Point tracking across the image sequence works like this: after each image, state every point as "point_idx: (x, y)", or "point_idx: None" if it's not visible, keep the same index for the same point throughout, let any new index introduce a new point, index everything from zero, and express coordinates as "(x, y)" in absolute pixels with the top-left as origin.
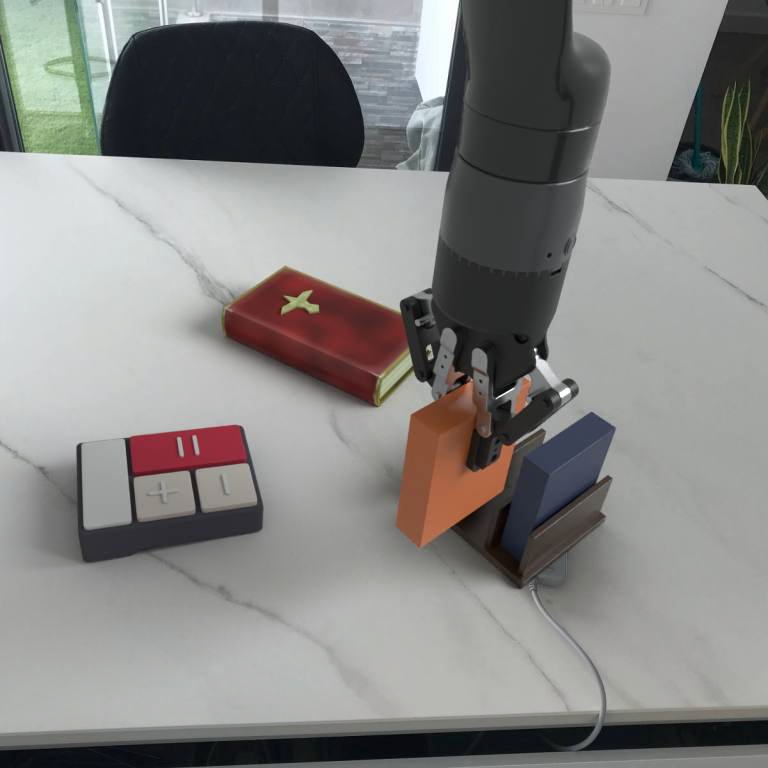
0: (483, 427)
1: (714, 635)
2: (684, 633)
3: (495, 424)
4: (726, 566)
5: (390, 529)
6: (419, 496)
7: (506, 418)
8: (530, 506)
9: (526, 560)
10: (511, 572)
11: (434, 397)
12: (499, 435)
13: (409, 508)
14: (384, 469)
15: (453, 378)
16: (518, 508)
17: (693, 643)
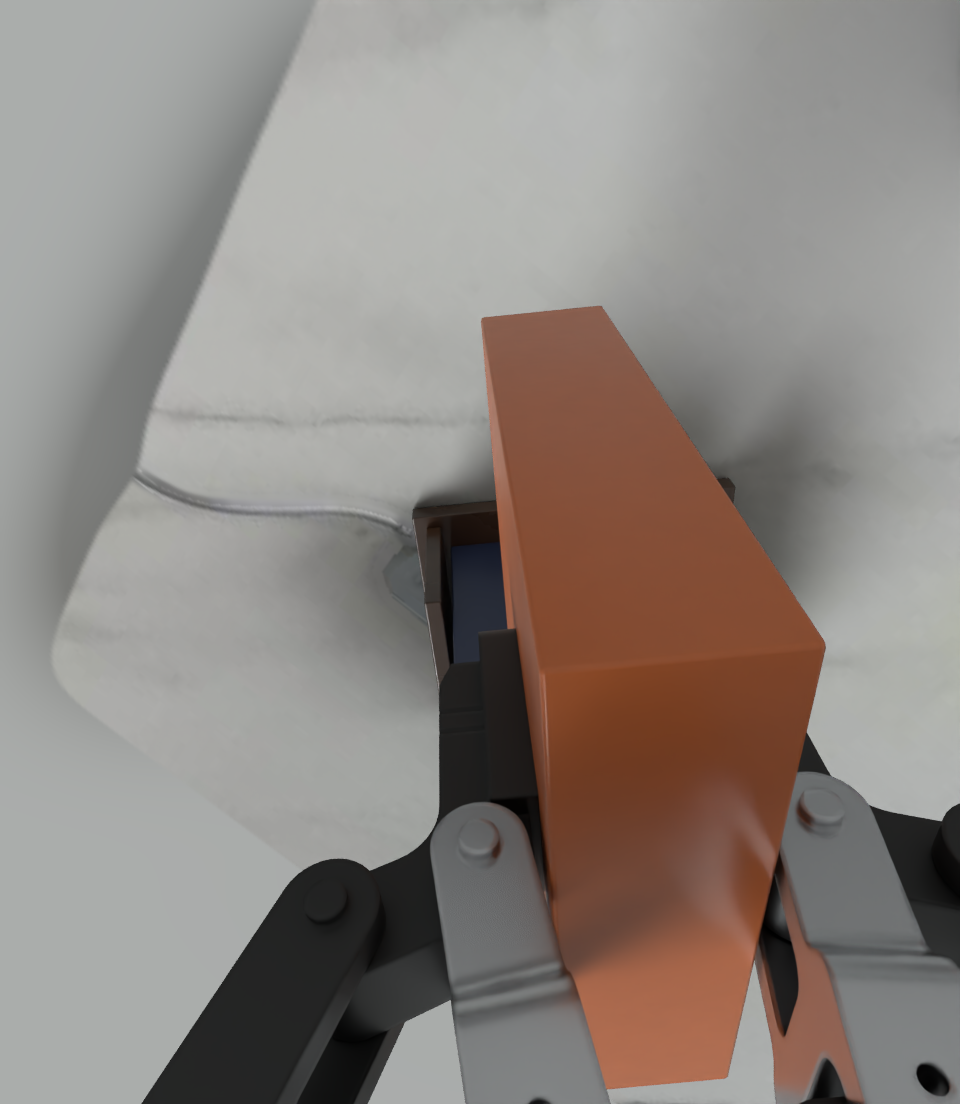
0: (473, 858)
1: (169, 699)
2: (192, 668)
3: (437, 914)
4: (268, 793)
5: (706, 376)
6: (544, 399)
7: (417, 978)
8: (476, 652)
9: (427, 556)
10: (446, 517)
11: (824, 790)
12: (366, 889)
13: (570, 355)
14: (841, 468)
15: (811, 997)
16: (504, 628)
17: (170, 666)
